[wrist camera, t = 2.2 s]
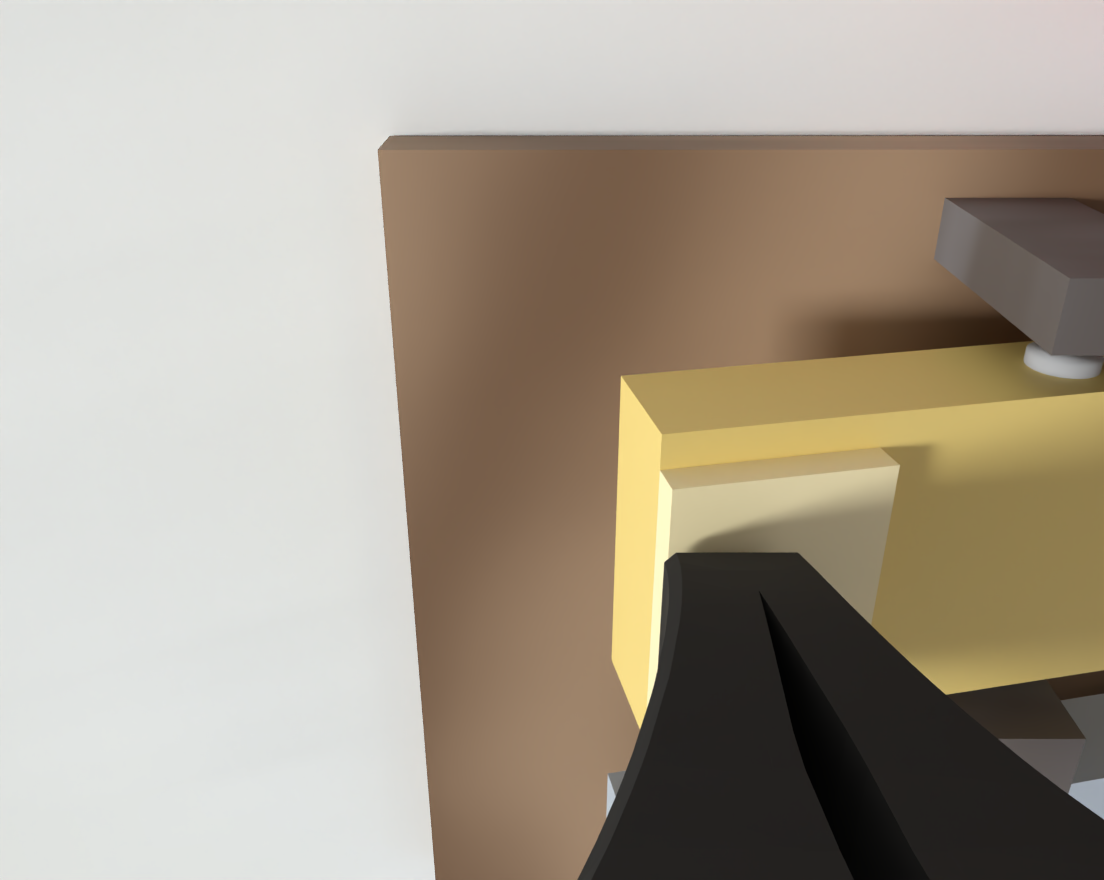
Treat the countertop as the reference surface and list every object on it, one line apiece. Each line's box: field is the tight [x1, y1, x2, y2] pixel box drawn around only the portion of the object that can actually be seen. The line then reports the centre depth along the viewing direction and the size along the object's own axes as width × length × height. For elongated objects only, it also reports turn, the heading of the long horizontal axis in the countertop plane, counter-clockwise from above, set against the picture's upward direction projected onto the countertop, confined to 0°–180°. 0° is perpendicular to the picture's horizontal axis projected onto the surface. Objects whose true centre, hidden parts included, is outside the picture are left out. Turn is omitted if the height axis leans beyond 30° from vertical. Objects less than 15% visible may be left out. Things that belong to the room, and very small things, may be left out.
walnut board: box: [378, 136, 1104, 880], centre depth 14 cm, size 16×14×4 cm
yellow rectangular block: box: [612, 341, 1104, 729], centre depth 12 cm, size 10×4×2 cm, turn 90°
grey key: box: [606, 694, 1104, 819], centre depth 15 cm, size 10×4×2 cm, turn 90°
